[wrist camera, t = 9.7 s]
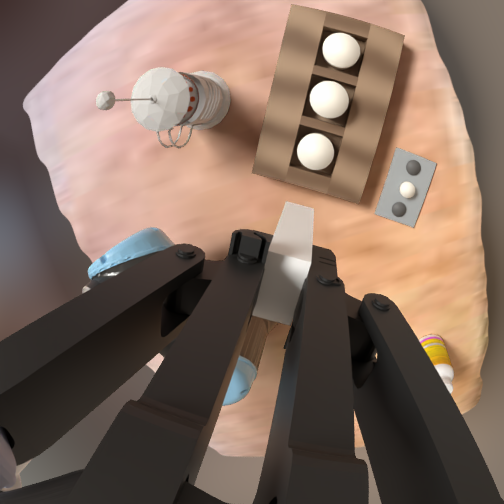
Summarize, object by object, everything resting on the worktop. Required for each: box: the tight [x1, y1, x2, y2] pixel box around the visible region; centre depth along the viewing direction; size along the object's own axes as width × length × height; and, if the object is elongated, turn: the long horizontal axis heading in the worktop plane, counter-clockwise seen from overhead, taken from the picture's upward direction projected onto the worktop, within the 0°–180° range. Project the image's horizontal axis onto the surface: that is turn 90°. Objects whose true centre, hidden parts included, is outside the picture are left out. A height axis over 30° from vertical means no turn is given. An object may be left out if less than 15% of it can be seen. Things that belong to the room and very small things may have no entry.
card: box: [374, 147, 437, 228], centre depth 44 cm, size 11×7×2 cm, turn 168°
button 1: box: [297, 133, 334, 170], centre depth 43 cm, size 5×5×3 cm
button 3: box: [323, 33, 360, 70], centre depth 36 cm, size 5×5×3 cm
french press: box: [96, 67, 231, 148], centre depth 35 cm, size 10×12×25 cm
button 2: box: [310, 81, 349, 118], centre depth 38 cm, size 5×5×3 cm
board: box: [252, 4, 405, 204], centre depth 40 cm, size 26×16×4 cm, turn 168°
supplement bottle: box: [419, 334, 454, 394], centre depth 49 cm, size 7×7×13 cm
